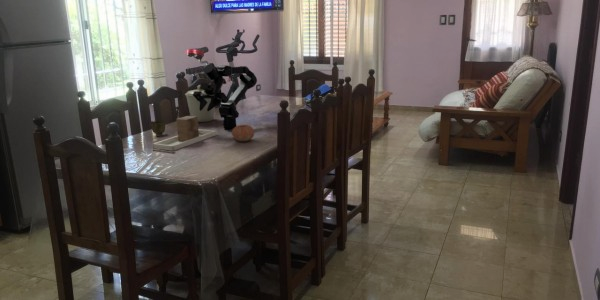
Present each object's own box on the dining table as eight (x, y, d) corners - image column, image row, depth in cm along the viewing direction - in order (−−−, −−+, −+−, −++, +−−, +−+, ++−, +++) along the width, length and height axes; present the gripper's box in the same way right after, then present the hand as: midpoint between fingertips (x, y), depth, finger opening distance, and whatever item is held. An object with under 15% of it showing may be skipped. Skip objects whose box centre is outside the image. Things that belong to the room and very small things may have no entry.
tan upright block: (189, 137, 234) (187, 115, 231) (199, 138, 231) (197, 116, 228) (178, 141, 227) (176, 118, 224) (188, 142, 224) (186, 119, 222)
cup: (169, 135, 248) (168, 120, 246) (161, 138, 241) (159, 123, 239) (157, 134, 250) (155, 119, 248) (149, 137, 243) (147, 122, 241)
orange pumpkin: (234, 144, 225) (232, 128, 223) (231, 139, 235) (229, 123, 233) (256, 142, 227) (255, 126, 225) (252, 137, 238) (251, 121, 235)
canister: (212, 123, 272) (209, 87, 267) (182, 123, 275) (179, 87, 270) (222, 117, 289) (220, 83, 284) (194, 117, 292) (191, 83, 287)
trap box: (198, 135, 244) (197, 129, 243) (216, 137, 239) (216, 130, 238) (153, 151, 217) (152, 143, 216) (173, 153, 212) (172, 146, 211)
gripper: (193, 75, 242) (180, 100, 235) (223, 76, 233) (210, 102, 227) (204, 88, 250) (192, 113, 244) (233, 90, 242) (222, 115, 235)
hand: (203, 110), depth 237 cm, fingers open, 4 cm apart
